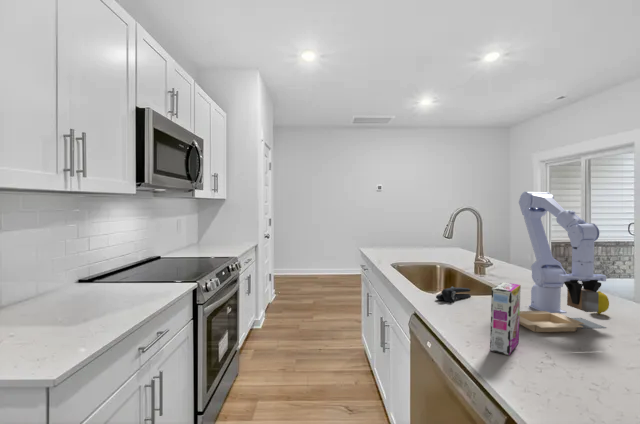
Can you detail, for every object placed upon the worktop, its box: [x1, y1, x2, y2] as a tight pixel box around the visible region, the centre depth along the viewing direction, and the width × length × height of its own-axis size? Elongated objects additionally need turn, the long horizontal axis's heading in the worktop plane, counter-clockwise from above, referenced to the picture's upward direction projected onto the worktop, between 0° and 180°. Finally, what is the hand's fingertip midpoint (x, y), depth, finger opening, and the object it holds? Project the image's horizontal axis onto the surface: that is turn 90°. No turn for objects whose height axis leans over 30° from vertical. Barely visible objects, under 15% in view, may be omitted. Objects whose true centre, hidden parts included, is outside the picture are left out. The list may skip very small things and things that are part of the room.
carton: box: [519, 310, 584, 333], centre depth 115 cm, size 16×18×2 cm
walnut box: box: [566, 287, 599, 313], centre depth 118 cm, size 8×4×6 cm, turn 5°
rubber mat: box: [571, 317, 607, 329], centre depth 118 cm, size 10×8×1 cm
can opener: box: [435, 286, 472, 303], centre depth 148 cm, size 18×7×6 cm, turn 121°
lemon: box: [596, 290, 610, 315], centre depth 129 cm, size 6×6×8 cm
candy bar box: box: [489, 282, 521, 356], centre depth 98 cm, size 11×5×16 cm, turn 141°
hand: (581, 303), depth 118 cm, fingers closed on walnut box, 4 cm apart
